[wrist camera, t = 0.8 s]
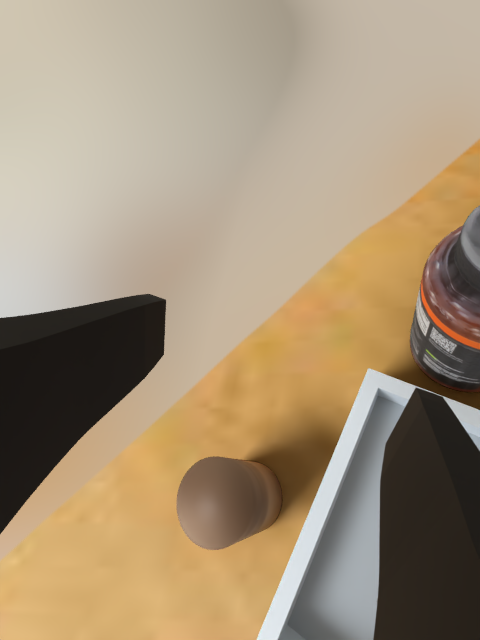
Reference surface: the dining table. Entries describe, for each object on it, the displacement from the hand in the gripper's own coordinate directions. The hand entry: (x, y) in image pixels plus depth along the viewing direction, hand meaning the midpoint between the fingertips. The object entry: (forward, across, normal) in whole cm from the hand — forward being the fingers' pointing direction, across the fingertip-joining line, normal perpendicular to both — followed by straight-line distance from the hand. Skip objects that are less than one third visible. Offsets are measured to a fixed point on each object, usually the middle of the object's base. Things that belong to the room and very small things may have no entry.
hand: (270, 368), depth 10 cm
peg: (+6, 0, +14) cm, 16 cm away
